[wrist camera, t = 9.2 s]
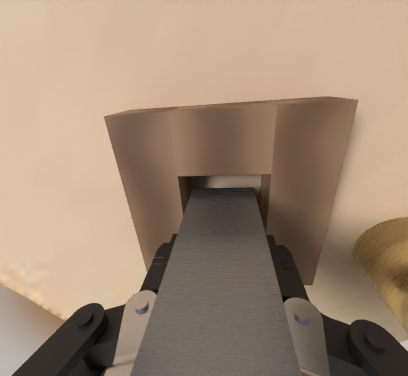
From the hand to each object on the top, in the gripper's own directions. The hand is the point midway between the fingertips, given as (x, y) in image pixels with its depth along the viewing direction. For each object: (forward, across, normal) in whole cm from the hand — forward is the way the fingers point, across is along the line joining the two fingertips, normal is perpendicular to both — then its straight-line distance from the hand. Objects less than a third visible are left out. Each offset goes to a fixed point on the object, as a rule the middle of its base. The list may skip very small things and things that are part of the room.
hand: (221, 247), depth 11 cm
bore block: (+7, 0, 0) cm, 7 cm away
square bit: (+3, 0, 0) cm, 3 cm away
